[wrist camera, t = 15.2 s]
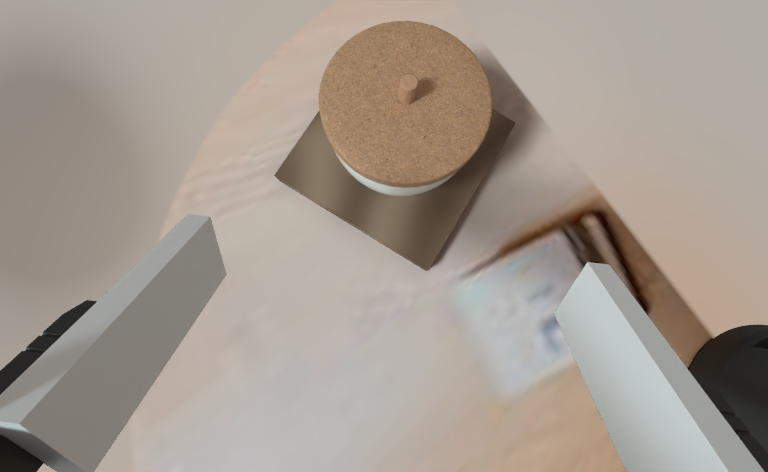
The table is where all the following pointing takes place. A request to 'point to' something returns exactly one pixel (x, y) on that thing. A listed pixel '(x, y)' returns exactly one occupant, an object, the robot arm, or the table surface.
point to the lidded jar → (404, 106)
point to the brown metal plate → (386, 212)
